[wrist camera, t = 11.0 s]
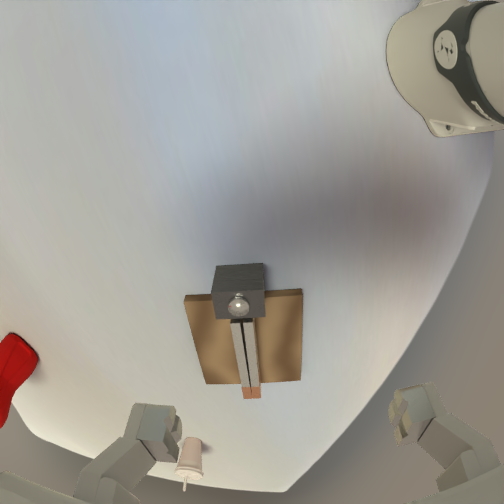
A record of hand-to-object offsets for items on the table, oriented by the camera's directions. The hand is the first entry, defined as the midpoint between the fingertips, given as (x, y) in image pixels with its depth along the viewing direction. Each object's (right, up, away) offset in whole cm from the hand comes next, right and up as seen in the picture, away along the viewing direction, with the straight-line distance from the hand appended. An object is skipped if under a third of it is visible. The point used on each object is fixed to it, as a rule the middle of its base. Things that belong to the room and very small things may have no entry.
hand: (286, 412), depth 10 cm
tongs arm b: (-3, -8, +35) cm, 36 cm away
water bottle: (-51, -14, +41) cm, 67 cm away
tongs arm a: (-1, -8, +35) cm, 36 cm away
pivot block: (-3, +2, +32) cm, 32 cm away
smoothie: (-15, -39, +54) cm, 68 cm away
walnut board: (-2, -8, +37) cm, 38 cm away
